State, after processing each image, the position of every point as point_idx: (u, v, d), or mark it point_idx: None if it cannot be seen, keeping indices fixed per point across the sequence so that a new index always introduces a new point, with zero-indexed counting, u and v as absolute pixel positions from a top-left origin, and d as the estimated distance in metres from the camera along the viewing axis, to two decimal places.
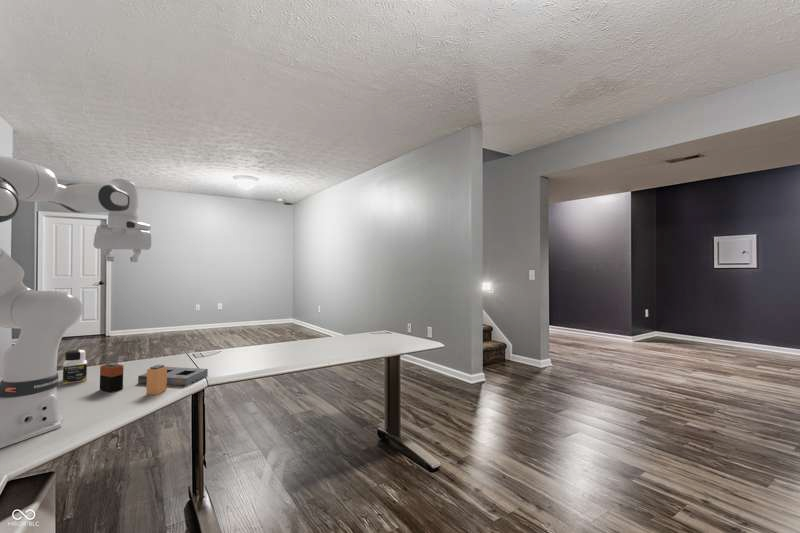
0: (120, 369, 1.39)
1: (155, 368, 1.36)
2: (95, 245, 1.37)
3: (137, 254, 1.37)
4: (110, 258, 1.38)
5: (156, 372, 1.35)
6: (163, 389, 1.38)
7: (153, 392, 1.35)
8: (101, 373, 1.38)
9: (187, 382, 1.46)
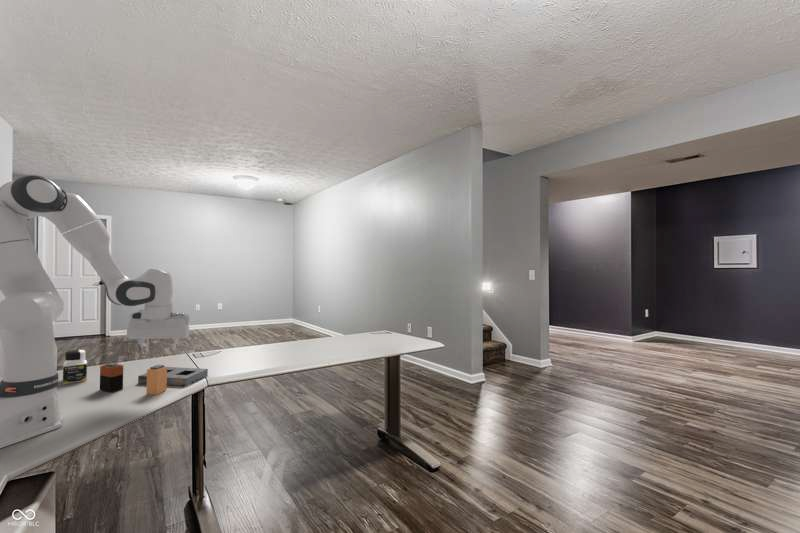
0: (120, 369, 1.39)
1: (155, 368, 1.36)
2: None
3: None
4: None
5: (156, 372, 1.35)
6: (163, 389, 1.38)
7: (153, 392, 1.35)
8: (101, 373, 1.38)
9: (187, 382, 1.46)
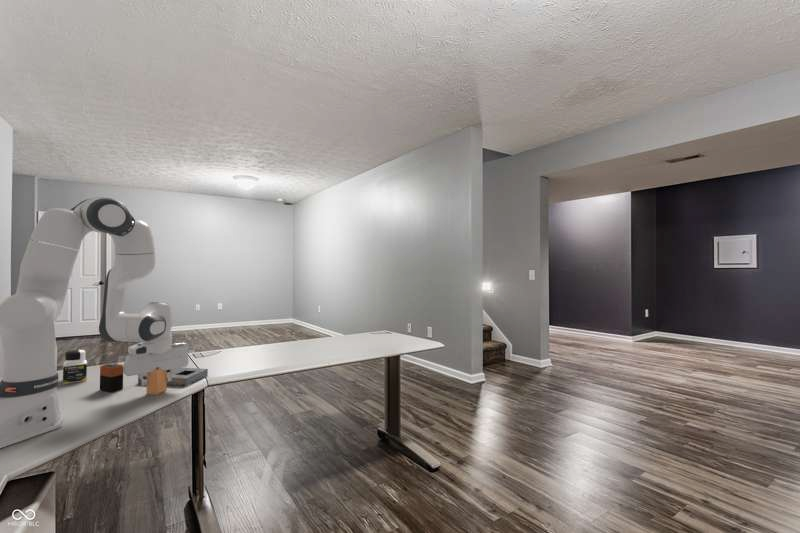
0: (120, 369, 1.39)
1: None
2: None
3: None
4: None
5: (156, 372, 1.35)
6: (163, 389, 1.38)
7: (153, 392, 1.35)
8: (101, 373, 1.38)
9: (187, 382, 1.46)
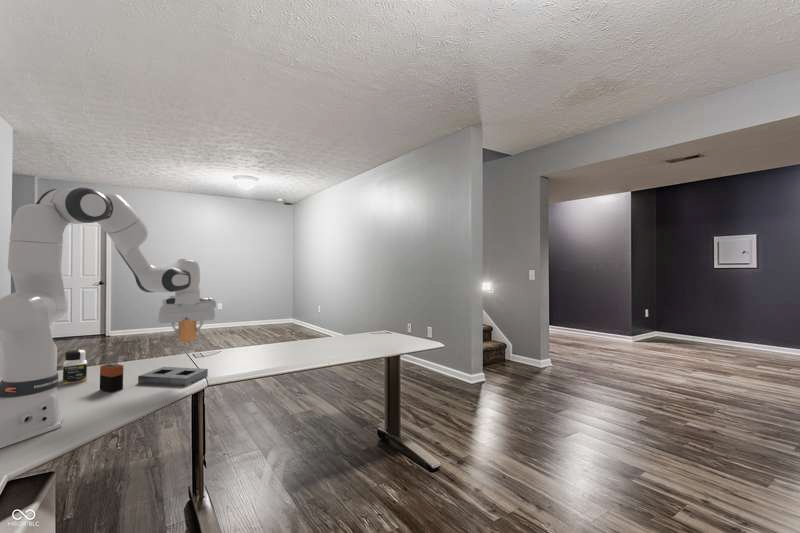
0: (120, 369, 1.39)
1: None
2: None
3: (172, 326, 1.50)
4: None
5: (185, 322, 1.50)
6: (192, 338, 1.53)
7: (183, 340, 1.50)
8: (101, 373, 1.38)
9: (187, 382, 1.46)
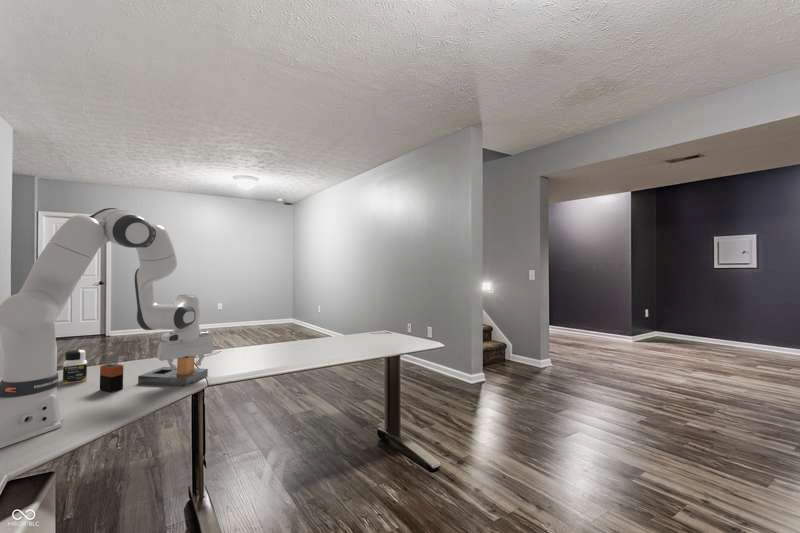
0: (120, 369, 1.39)
1: (185, 357, 1.51)
2: None
3: (169, 363, 1.48)
4: (196, 363, 1.56)
5: (186, 361, 1.50)
6: None
7: None
8: (101, 373, 1.38)
9: (187, 382, 1.46)
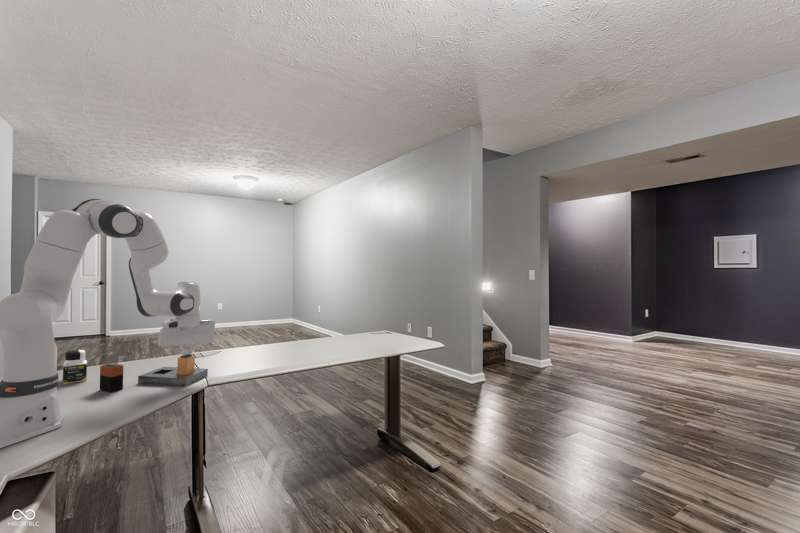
0: (120, 369, 1.39)
1: (185, 357, 1.51)
2: None
3: (181, 349, 1.51)
4: None
5: (186, 360, 1.50)
6: None
7: None
8: (101, 373, 1.38)
9: (187, 382, 1.46)
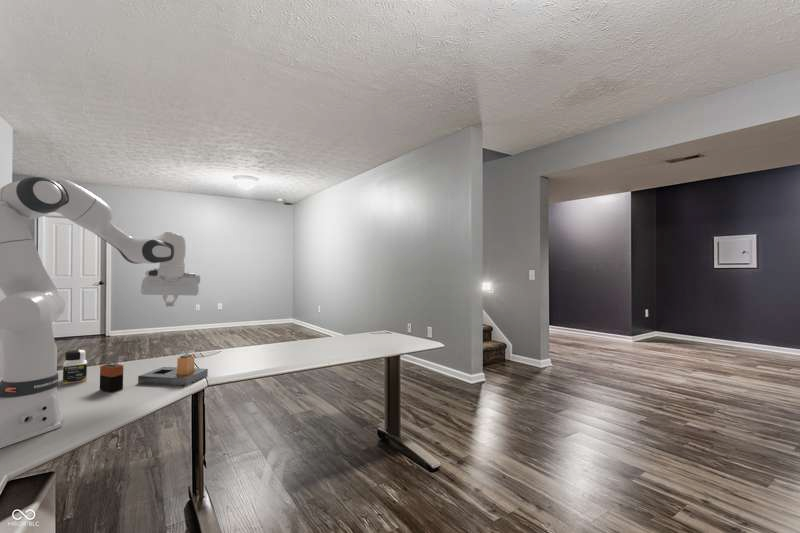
0: (120, 369, 1.39)
1: (185, 357, 1.51)
2: None
3: None
4: None
5: (186, 361, 1.50)
6: None
7: None
8: (101, 373, 1.38)
9: (187, 382, 1.46)
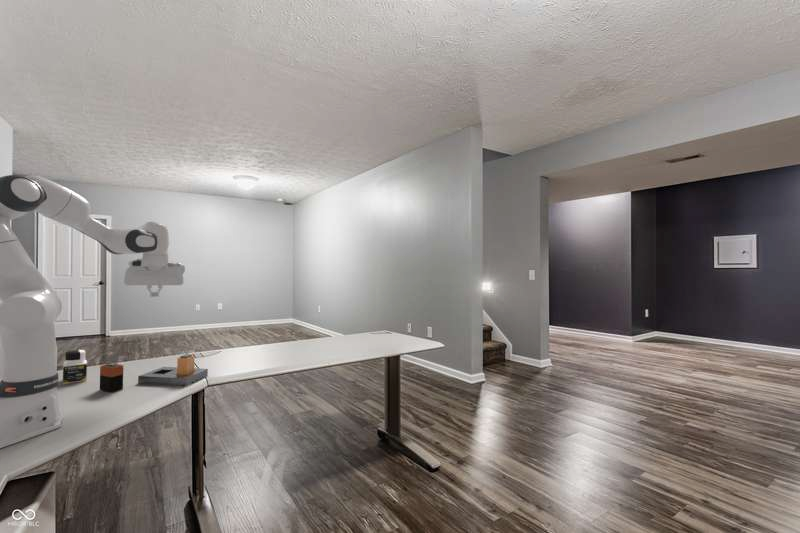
0: (120, 369, 1.39)
1: (185, 357, 1.51)
2: None
3: (148, 289, 1.51)
4: None
5: (186, 361, 1.50)
6: None
7: None
8: (101, 373, 1.38)
9: (187, 382, 1.46)
